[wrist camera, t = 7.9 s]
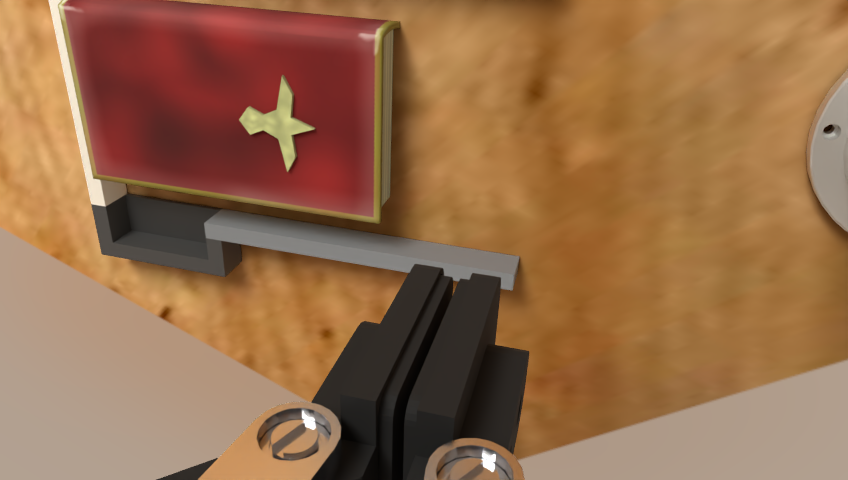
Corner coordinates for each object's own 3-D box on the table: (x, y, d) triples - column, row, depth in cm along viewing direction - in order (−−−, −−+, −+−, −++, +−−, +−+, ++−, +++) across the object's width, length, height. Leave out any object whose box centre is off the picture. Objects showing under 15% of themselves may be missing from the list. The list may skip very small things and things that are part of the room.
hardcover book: (99, -10, 44) (52, -2, 41) (402, 17, 40) (380, 29, 36) (129, 159, 50) (90, 180, 46) (397, 199, 45) (378, 225, 42)
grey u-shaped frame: (566, -121, 34) (563, -123, 32) (512, 309, 46) (507, 328, 44) (50, -143, 40) (18, -146, 38) (123, 239, 53) (101, 254, 51)
